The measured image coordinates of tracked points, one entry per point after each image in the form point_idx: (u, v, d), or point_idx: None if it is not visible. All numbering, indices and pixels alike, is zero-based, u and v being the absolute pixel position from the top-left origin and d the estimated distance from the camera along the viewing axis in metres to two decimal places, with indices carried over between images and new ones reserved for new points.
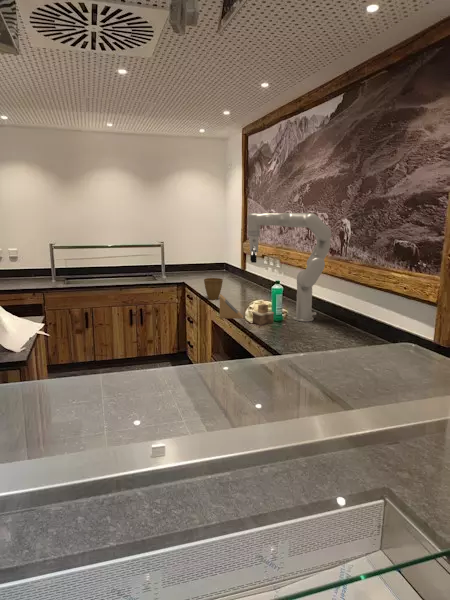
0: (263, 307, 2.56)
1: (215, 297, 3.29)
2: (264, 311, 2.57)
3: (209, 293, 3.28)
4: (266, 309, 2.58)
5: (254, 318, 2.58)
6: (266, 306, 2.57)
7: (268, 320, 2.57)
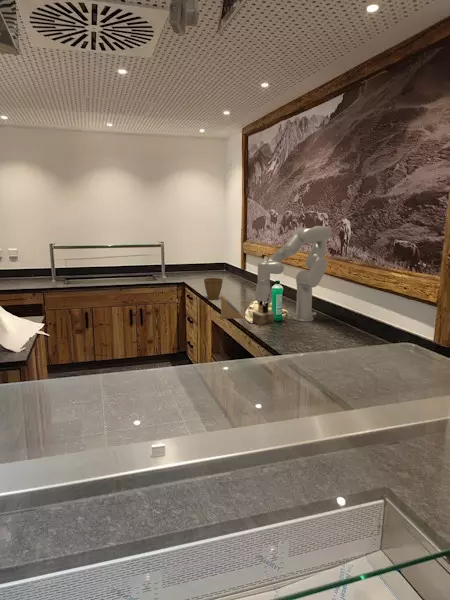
0: None
1: (215, 297, 3.29)
2: None
3: (209, 293, 3.28)
4: None
5: (254, 318, 2.58)
6: None
7: (268, 320, 2.57)
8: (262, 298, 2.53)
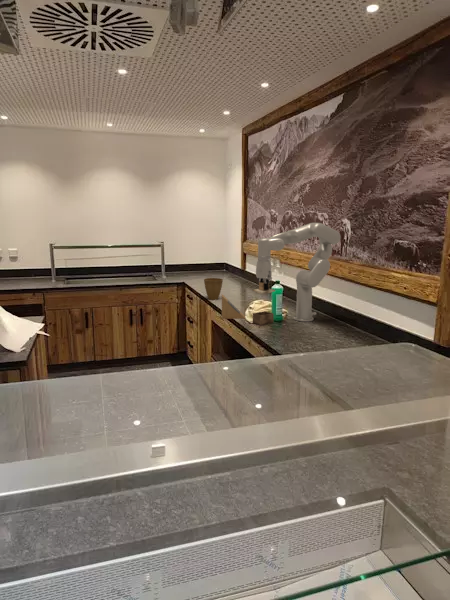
0: None
1: (215, 297, 3.29)
2: None
3: (209, 293, 3.28)
4: None
5: (254, 318, 2.58)
6: None
7: (268, 320, 2.57)
8: (263, 275, 2.51)
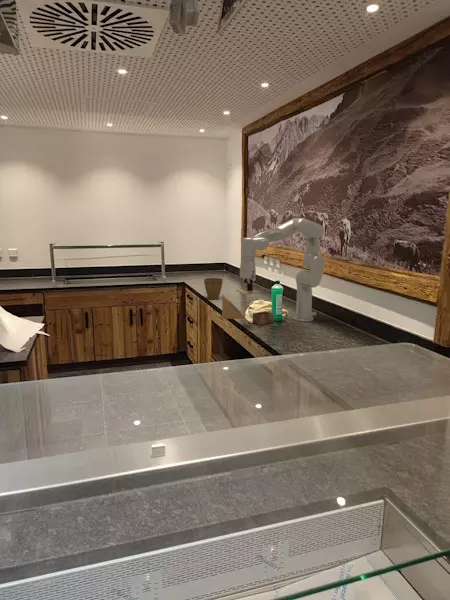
0: None
1: (215, 297, 3.29)
2: None
3: (209, 293, 3.28)
4: None
5: (254, 318, 2.58)
6: None
7: (268, 320, 2.57)
8: (246, 275, 2.44)
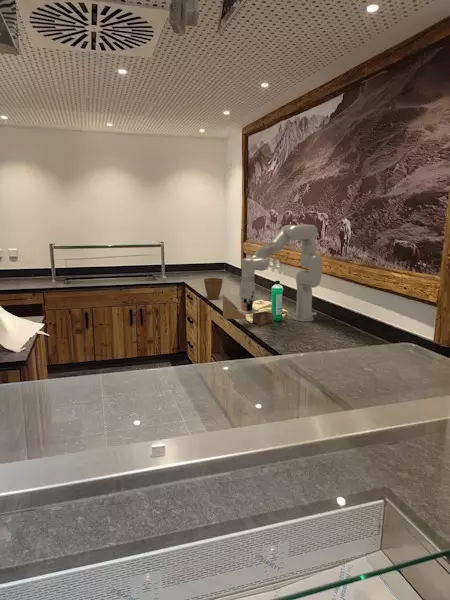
0: None
1: (215, 297, 3.29)
2: None
3: (209, 293, 3.28)
4: None
5: (254, 318, 2.58)
6: None
7: (268, 320, 2.57)
8: (246, 295, 2.46)
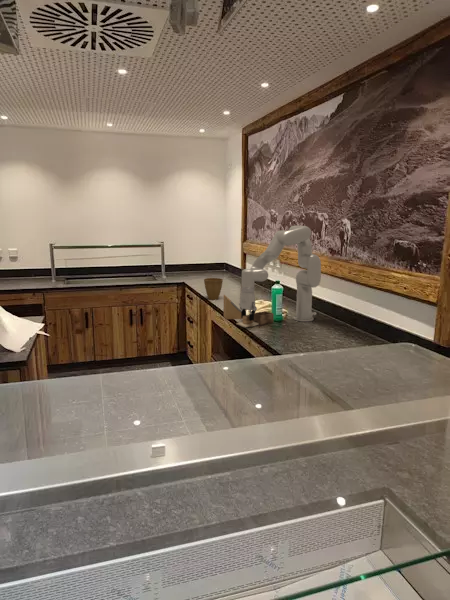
0: (247, 318, 2.50)
1: (215, 297, 3.29)
2: (249, 322, 2.51)
3: (209, 293, 3.28)
4: (251, 320, 2.52)
5: (254, 318, 2.58)
6: None
7: (268, 320, 2.57)
8: (246, 306, 2.47)
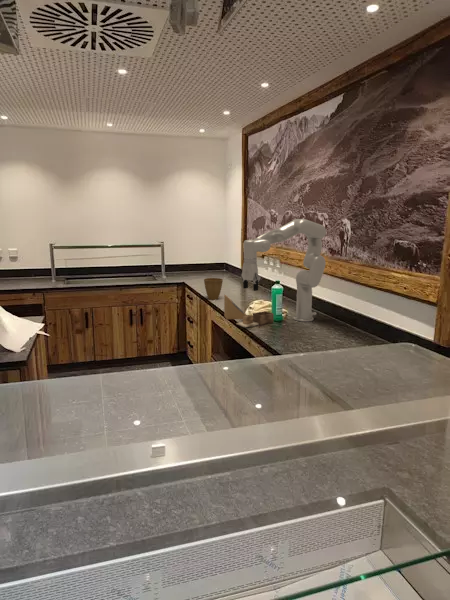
0: (247, 318, 2.50)
1: (215, 297, 3.29)
2: (249, 322, 2.51)
3: (209, 293, 3.28)
4: (251, 320, 2.52)
5: (254, 318, 2.58)
6: (251, 317, 2.52)
7: (268, 320, 2.57)
8: (249, 277, 2.47)
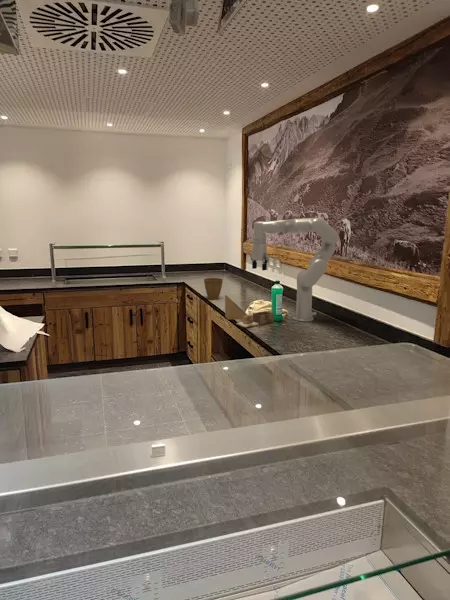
0: (247, 318, 2.50)
1: (215, 297, 3.29)
2: (249, 322, 2.51)
3: (209, 293, 3.28)
4: (251, 320, 2.52)
5: (254, 318, 2.58)
6: (251, 317, 2.52)
7: (268, 320, 2.57)
8: (258, 257, 2.57)
